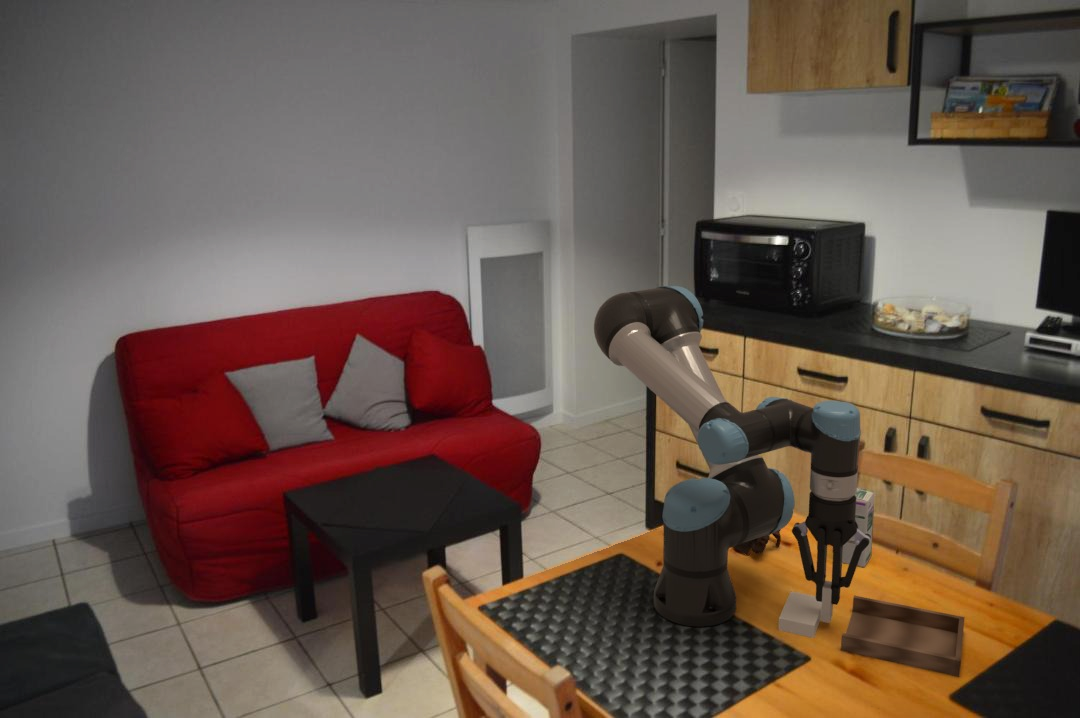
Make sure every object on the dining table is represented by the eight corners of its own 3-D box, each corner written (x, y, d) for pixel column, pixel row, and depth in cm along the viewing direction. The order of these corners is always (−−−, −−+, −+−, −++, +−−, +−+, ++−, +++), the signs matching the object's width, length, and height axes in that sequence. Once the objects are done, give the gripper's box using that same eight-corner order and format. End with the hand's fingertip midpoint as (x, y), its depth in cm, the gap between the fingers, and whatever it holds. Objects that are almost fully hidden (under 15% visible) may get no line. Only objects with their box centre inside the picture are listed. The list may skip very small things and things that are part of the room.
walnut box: (840, 656, 150) (841, 635, 149) (852, 615, 162) (854, 595, 161) (958, 683, 142) (960, 661, 141) (962, 637, 154) (964, 617, 153)
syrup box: (865, 568, 178) (869, 500, 174) (834, 561, 181) (838, 495, 177) (871, 556, 183) (876, 490, 179) (842, 549, 186) (846, 485, 182)
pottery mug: (724, 541, 192) (740, 506, 192) (763, 559, 193) (780, 524, 193) (737, 553, 180) (755, 516, 180) (780, 573, 181) (797, 535, 181)
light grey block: (778, 633, 156) (778, 618, 155) (790, 605, 164) (790, 591, 164) (813, 641, 153) (814, 625, 152) (823, 612, 162) (824, 597, 161)
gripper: (788, 495, 150) (784, 621, 156) (870, 507, 144) (862, 637, 150) (797, 479, 156) (793, 600, 162) (876, 490, 151) (869, 615, 157)
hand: (826, 618), depth 156 cm, fingers closed
